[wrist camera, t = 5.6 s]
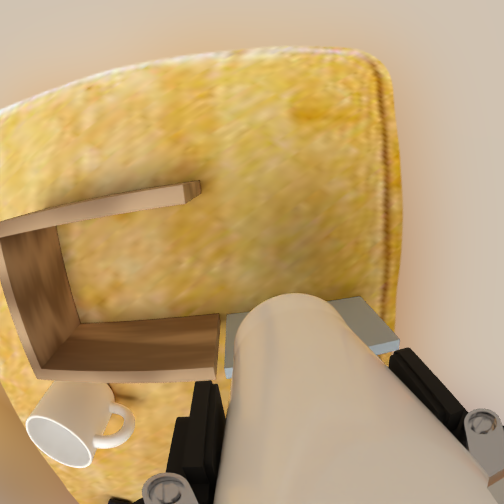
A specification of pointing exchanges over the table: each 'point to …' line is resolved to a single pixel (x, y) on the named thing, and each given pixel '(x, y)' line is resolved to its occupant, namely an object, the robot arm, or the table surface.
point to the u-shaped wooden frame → (96, 334)
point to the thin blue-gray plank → (354, 315)
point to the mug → (77, 422)
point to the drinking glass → (331, 420)
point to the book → (116, 502)
